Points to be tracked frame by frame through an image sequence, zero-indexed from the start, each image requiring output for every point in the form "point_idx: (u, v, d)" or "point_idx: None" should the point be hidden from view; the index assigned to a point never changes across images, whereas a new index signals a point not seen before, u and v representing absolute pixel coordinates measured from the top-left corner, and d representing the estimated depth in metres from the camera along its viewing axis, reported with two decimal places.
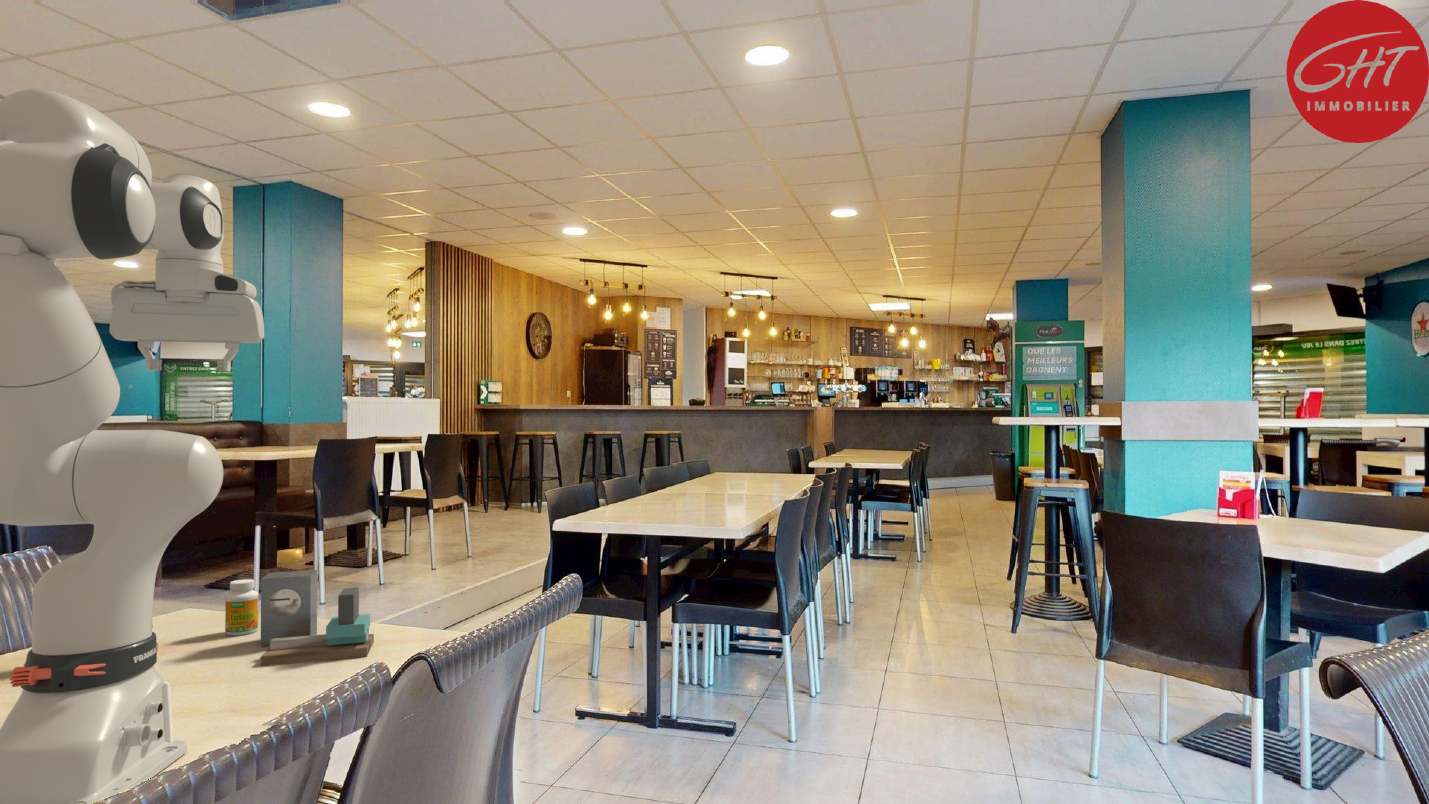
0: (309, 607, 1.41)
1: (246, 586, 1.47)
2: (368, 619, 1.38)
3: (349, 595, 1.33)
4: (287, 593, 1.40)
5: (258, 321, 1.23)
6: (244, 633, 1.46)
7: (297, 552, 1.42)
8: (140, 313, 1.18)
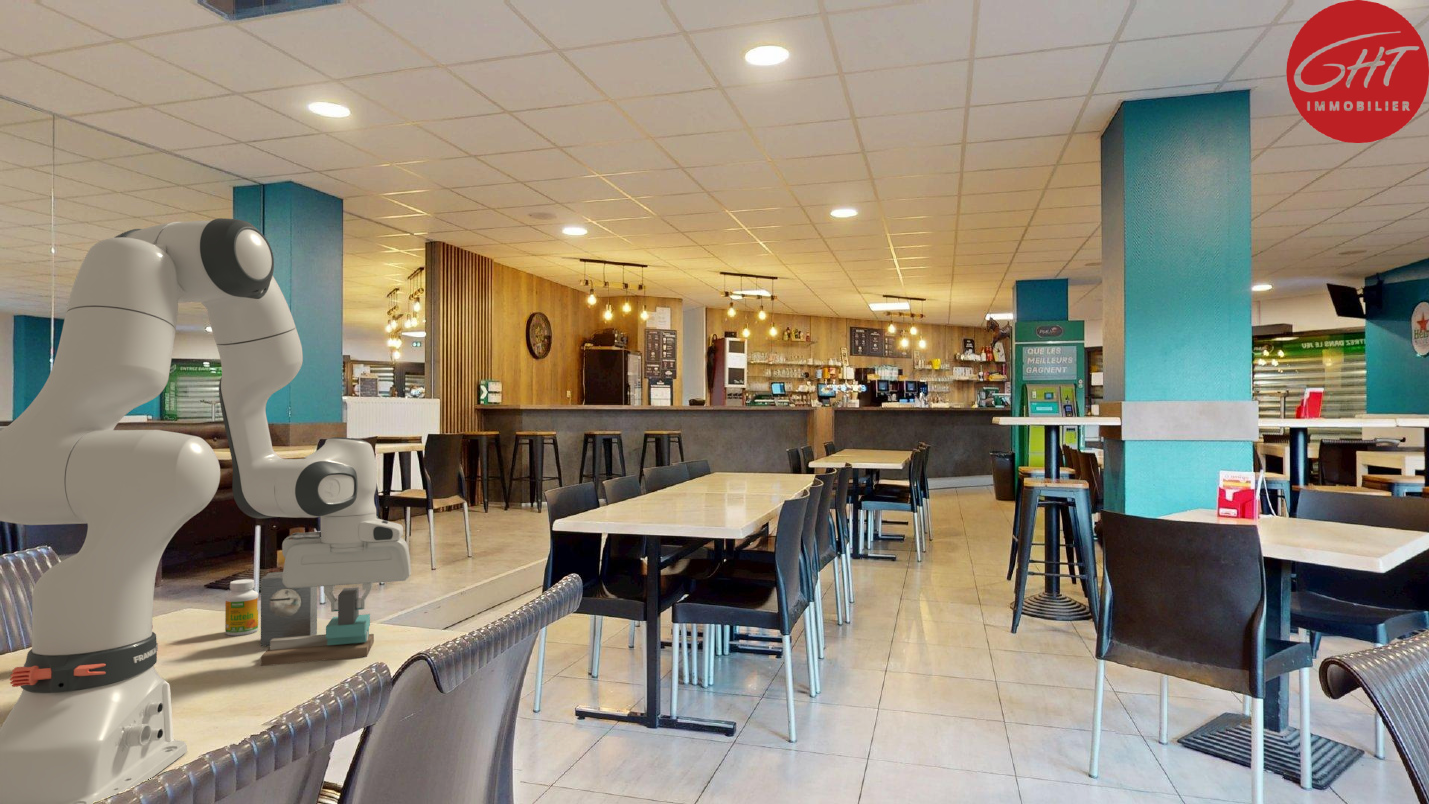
0: (309, 607, 1.41)
1: (246, 586, 1.47)
2: (368, 619, 1.38)
3: (349, 595, 1.33)
4: (287, 593, 1.40)
5: (408, 562, 1.37)
6: (244, 633, 1.46)
7: None
8: (308, 564, 1.32)
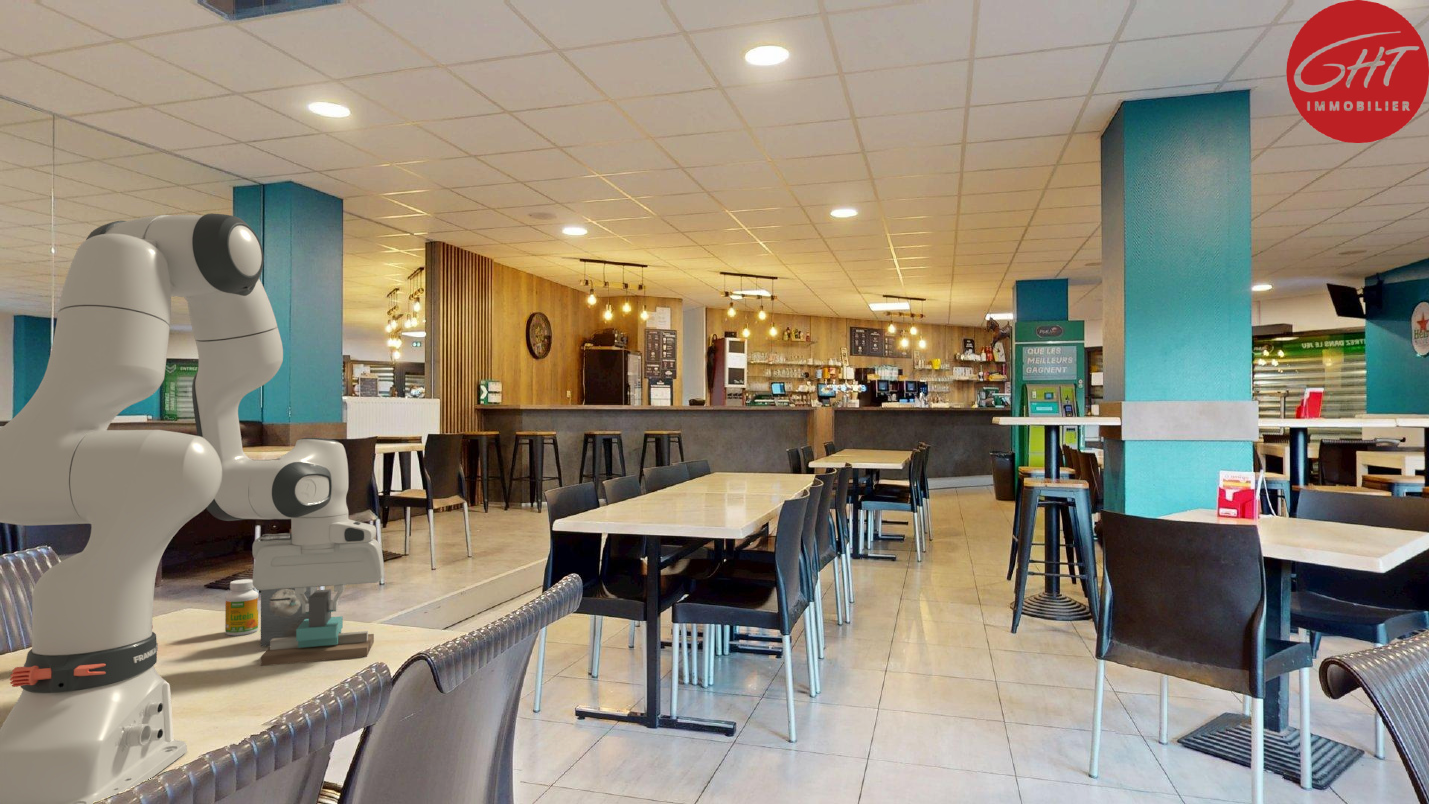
0: None
1: (246, 586, 1.47)
2: (340, 621, 1.36)
3: (320, 597, 1.32)
4: (287, 593, 1.40)
5: (380, 564, 1.36)
6: (244, 633, 1.46)
7: None
8: (279, 565, 1.31)
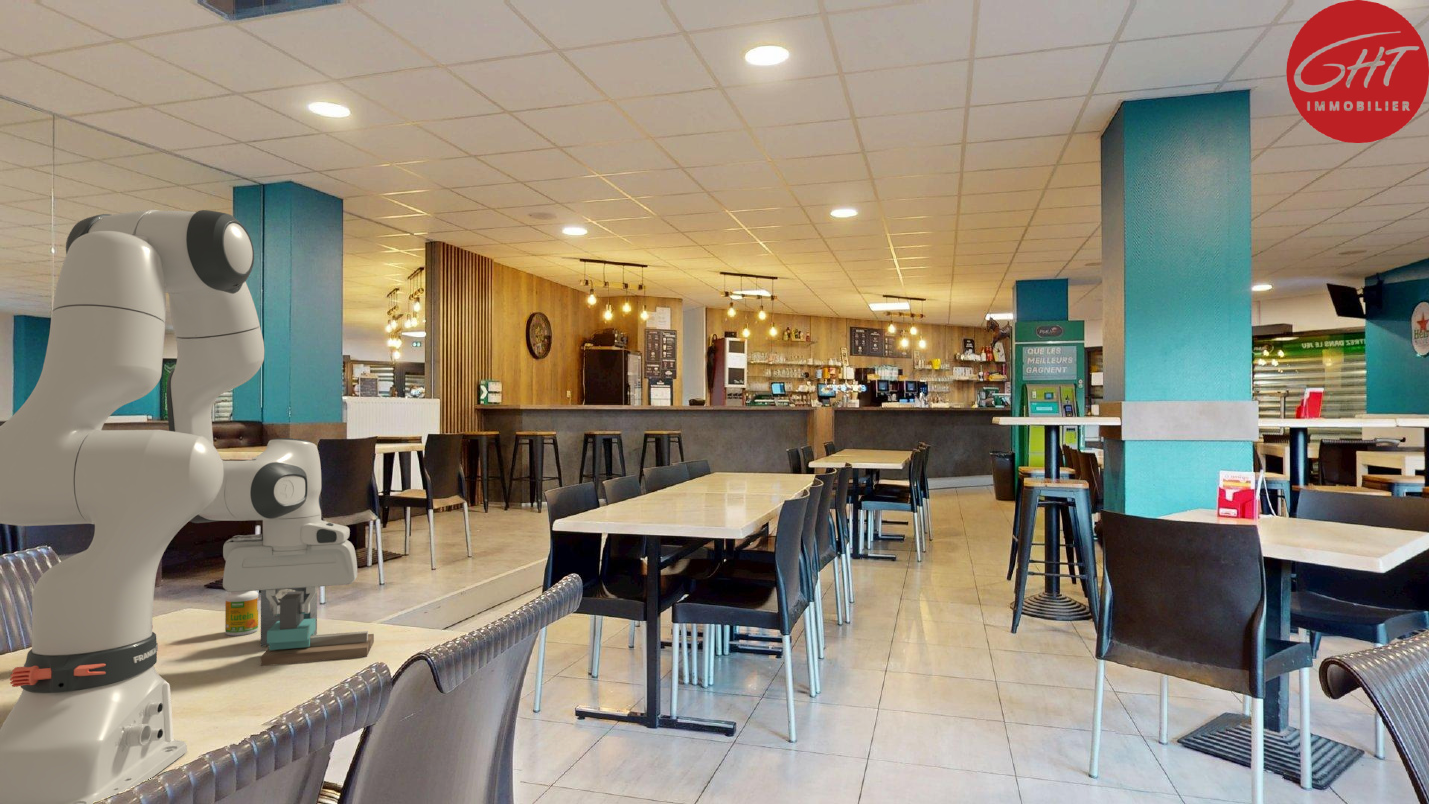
0: None
1: None
2: (313, 623, 1.35)
3: (291, 599, 1.30)
4: None
5: (353, 565, 1.35)
6: (244, 633, 1.46)
7: None
8: (250, 567, 1.30)
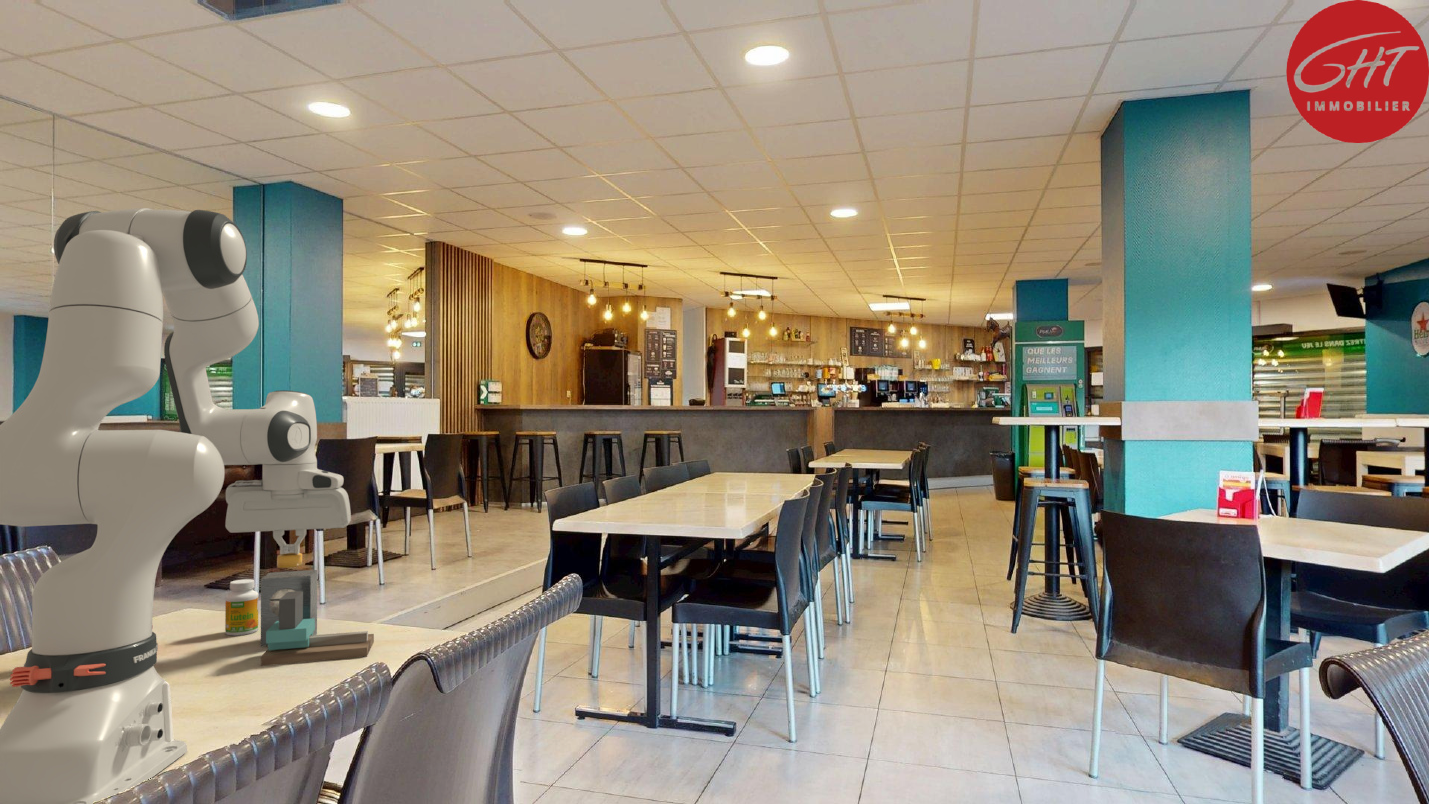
0: (309, 607, 1.41)
1: (246, 586, 1.47)
2: (312, 623, 1.35)
3: (290, 599, 1.30)
4: None
5: (347, 510, 1.45)
6: (244, 633, 1.46)
7: (297, 556, 1.42)
8: (250, 509, 1.40)
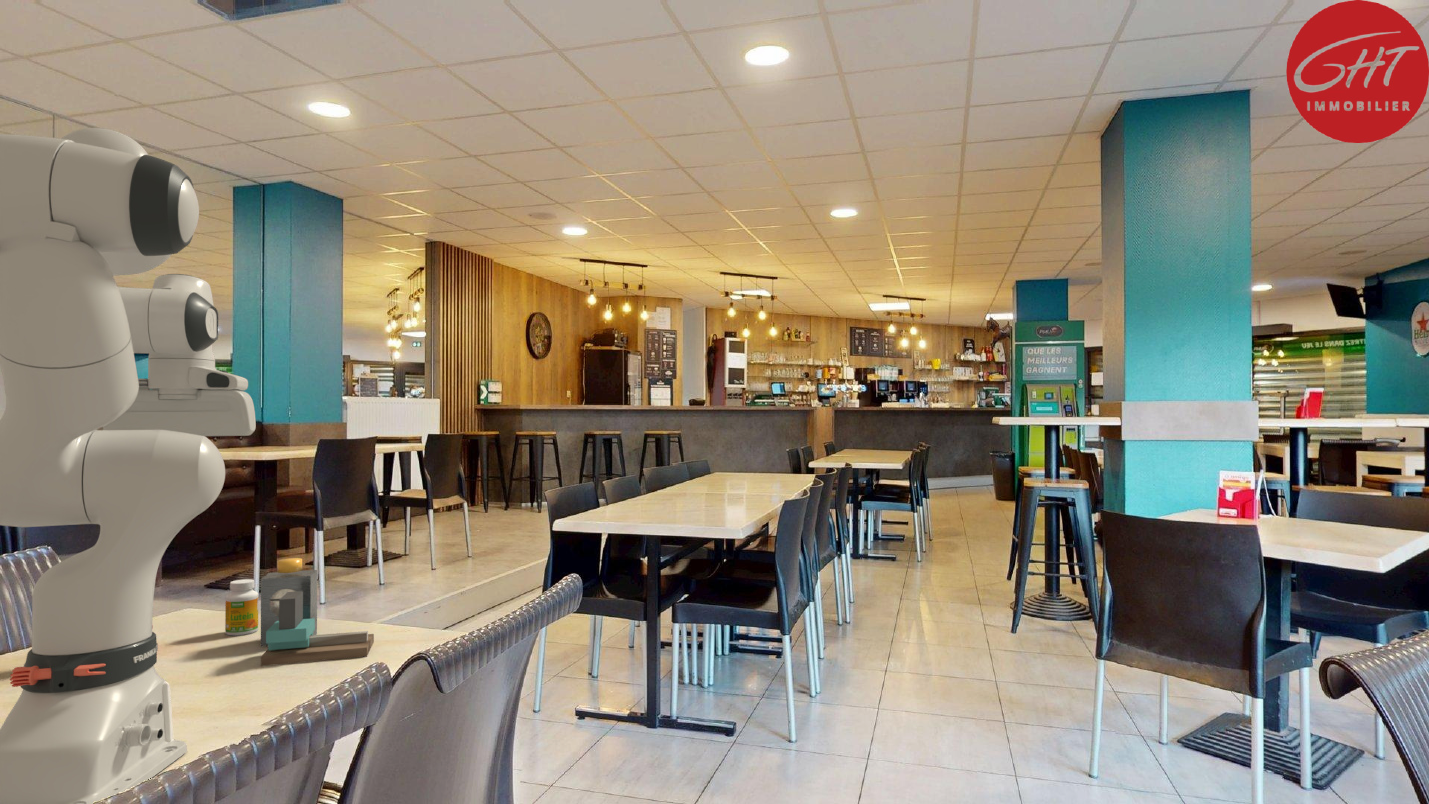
0: (309, 607, 1.41)
1: (246, 586, 1.47)
2: (312, 623, 1.35)
3: (290, 599, 1.30)
4: None
5: (249, 415, 1.25)
6: (244, 633, 1.46)
7: (297, 561, 1.42)
8: (133, 411, 1.20)
